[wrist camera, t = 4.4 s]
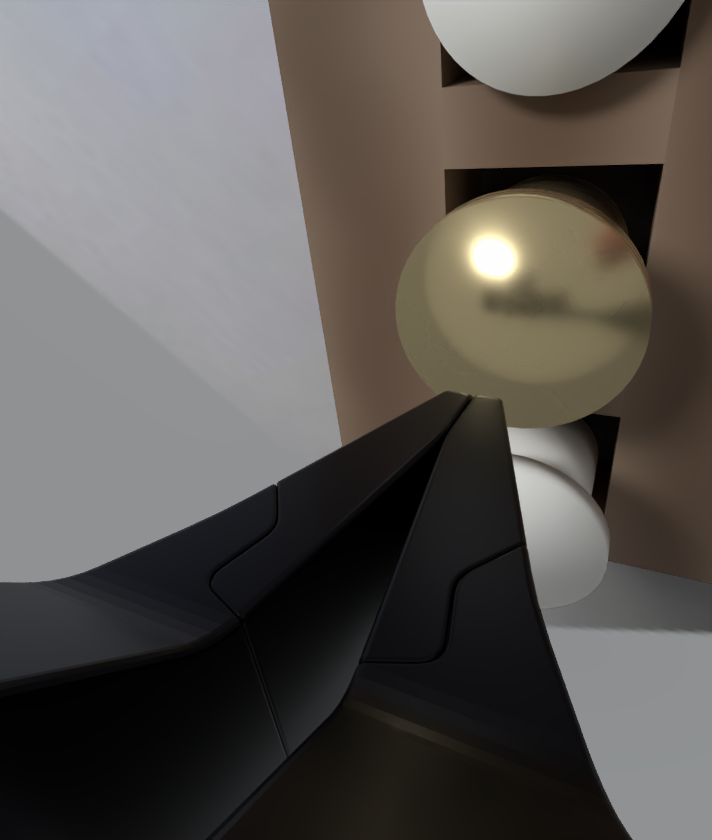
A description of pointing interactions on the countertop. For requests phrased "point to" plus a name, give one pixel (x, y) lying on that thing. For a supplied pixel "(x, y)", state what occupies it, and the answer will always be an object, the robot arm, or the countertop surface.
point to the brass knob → (528, 301)
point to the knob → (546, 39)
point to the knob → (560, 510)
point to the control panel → (463, 181)
